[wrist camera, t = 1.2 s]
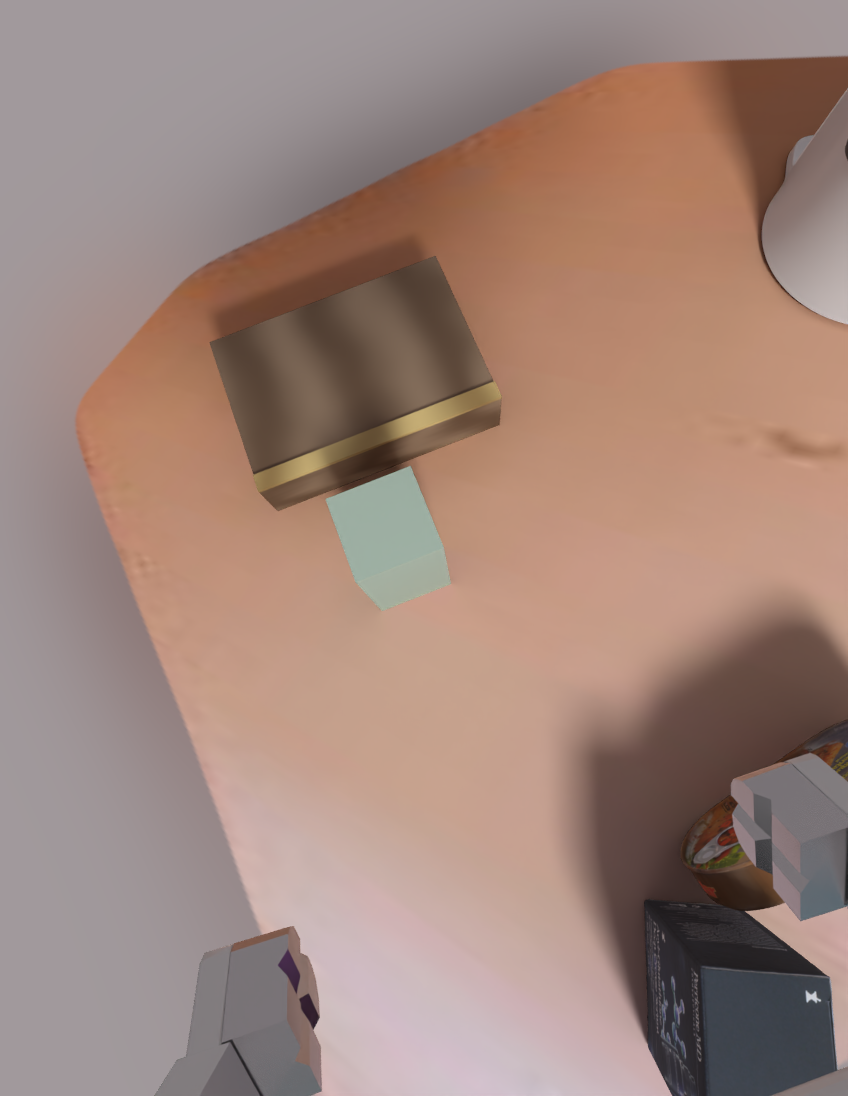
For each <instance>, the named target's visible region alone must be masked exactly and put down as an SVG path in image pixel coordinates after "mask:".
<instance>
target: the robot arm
mask: <svg viewBox="0 0 848 1096" xmlns="http://www.w3.org/2000/svg"><path fill="white" fill-rule="evenodd" d="M762 244H763V250H764V254H765V257H766V260H767V262H768V265H769V267H770V269H771V271H772V272H773V274H774V276H775V277H776V279H777V280H778V281H779V283H780V284H781V285H782V286H783V287H784V289H785V290H786V291H787V292H788V293H789V294H790V295H791V296H793V297H794V298H795V299H796V300H797V301H799V302H800V303H801V304H803V305H804V306H806V307H807V308H809V309H810V310H812V311H814V312H816V313H818V314H820V315H822V316H824V317H827V318H829V319H832V320H835V321H838V322H841V323H845V324H848V88H847V90H846V91H845V93H844V94H843V95H842V97H841V98H840V100H839V101H838V102H837V104H836V105H835V107H834V108H833V109H832V111H831V112H830V114H829V115H828V116H827V118H826V119H825V121H824V122H823V123H822V125H821V126H820V128H819V129H818V131H817V132H816V133H815V135H811V136H806V137H804V138H802V139H800V140H799V141H798V142H797V143H796V145H795V146H794V147H793V149H792V150H791V152H790V153H789V156H788V159H787V164H786V174H785V180H784V182H783V184H782V186H781V187H780V189H779V190H778V192H777V193H776V195H775V196H774V197H773V199H772V201H771V202H770V204H769V206H768V208H767V211H766V213H765V216H764V220H763V226H762ZM731 796H732V797H733V798H734V799H735V800H736V801H737V803H738V805H737V806H736V808H735V810H734V811H733V813H732V817H733V827H734V830H735V833H736V836H737V838H738V841H739V843H740V845H741V847H742V848H743V850H744V852H745V853H746V855H747V856H748V857H749V859H750V860H751V861H752V863H753V864H754V865H755V866H756V867H757V868H759V869H761V870H764V871H766V872H768V873H770V874H772V875H773V888H774V890H775V891H776V892H777V893H778V895H779V896H780V897H781V898H782V899H783V901H784V902H785V903H786V904H787V905H788V907H789V908H790V909H791V910H792V912H793V913H794V914H795V915H796V916H797V918H798V919H799V920H800V921H803V920H806V919H809V918H812V917H815V916H818V915H822V914H825V913H828V912H831V911H834V910H837V909H840V908H843V907H847V906H848V782H847V781H846V780H845V779H844V778H843V777H841V776H840V775H839V774H838V773H837V772H836V771H834V770H833V769H832V768H831V767H830V766H829V765H827V764H826V763H825V762H824V761H823V760H822V759H820V758H819V757H818V756H817V755H814V754H812V753H808V754H805V755H802V756H799V757H796V758H793V759H790V760H787V761H784V762H780V763H777V764H774V765H771V766H768V767H765V768H762V769H760V770H757V771H754V772H751V773H748V774H745V775H742V776H739V777H737V778H734V779H733V781H732V783H731ZM319 1018H320V1014H319V997H318V991H317V984H316V979H315V975H314V972H313V968H312V965H311V963H310V960H309V958H308V956H306V955H304V954H301V953H300V938H299V936H298V934H297V932H296V930H295V928H294V926H291V927H287V928H284V929H280V930H277V931H274V932H270V933H267V934H264V935H260V936H257V937H254V938H251V939H248V940H244V941H241V942H237V943H234V944H232V945H228V946H226V947H222V948H219V949H216V950H213V951H209V952H206V953H204V956H203V958H202V961H201V962H200V966H199V972H198V979H197V986H196V993H195V1000H194V1006H193V1013H192V1020H191V1027H190V1033H189V1040H188V1047H187V1054H186V1057H184V1058H181V1059H178V1060H177V1061H176V1062H175V1064H174V1066H173V1067H172V1069H171V1071H170V1072H169V1073H168V1075H167V1077H166V1078H165V1080H164V1081H163V1083H162V1084H161V1086H160V1088H159V1089H158V1091H157V1092H156V1094H155V1095H154V1096H311V1095H313V1094H316V1093H318V1092H321V1091H322V1078H321V1046H320V1044H319V1042H318V1039H317V1037H316V1035H315V1033H314V1031H313V1030H314V1028H315V1026H316V1024H317V1022H318V1020H319ZM771 1096H848V1067H845V1068H843V1069H840V1070H837V1071H835V1072H832V1073H829V1074H827V1075H824V1076H821V1077H819V1078H816V1079H814V1080H811V1081H808V1082H806V1083H803V1084H800V1085H798V1086H795V1087H792V1088H790V1089H787V1090H784V1091H782V1092H779V1093H776V1094H774V1095H771Z"/></svg>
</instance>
